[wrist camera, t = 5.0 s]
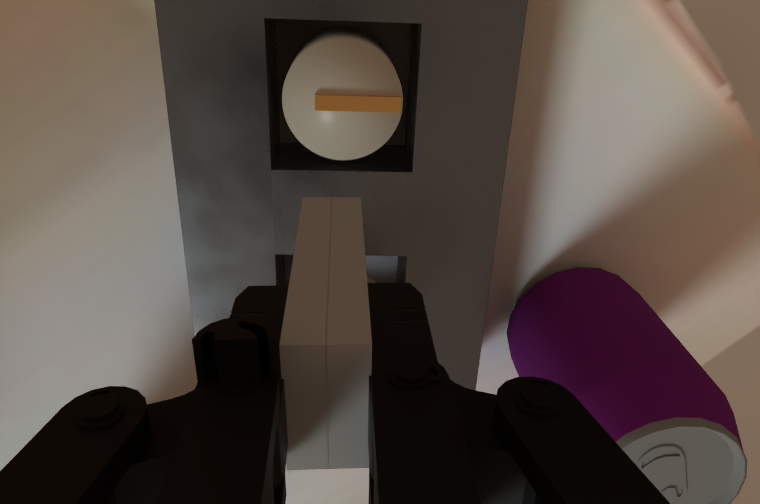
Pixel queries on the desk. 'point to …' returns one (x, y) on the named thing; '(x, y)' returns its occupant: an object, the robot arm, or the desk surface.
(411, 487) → the robot arm
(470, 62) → the mount plate
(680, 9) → the desk surface
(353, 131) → the knob
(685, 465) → the beverage can
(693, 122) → the desk surface
